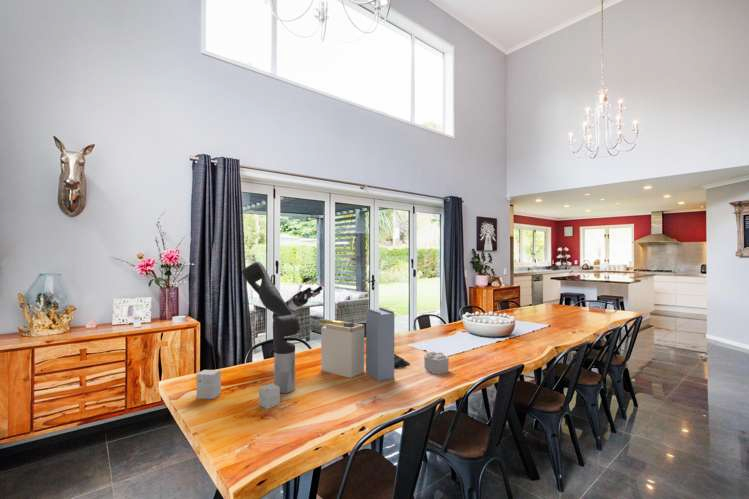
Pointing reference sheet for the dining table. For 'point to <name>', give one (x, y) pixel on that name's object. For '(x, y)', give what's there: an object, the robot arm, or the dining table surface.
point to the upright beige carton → (342, 349)
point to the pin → (335, 323)
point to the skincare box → (269, 396)
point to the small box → (208, 384)
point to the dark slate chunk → (399, 362)
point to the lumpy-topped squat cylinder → (436, 362)
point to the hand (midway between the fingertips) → (316, 288)
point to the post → (380, 343)
